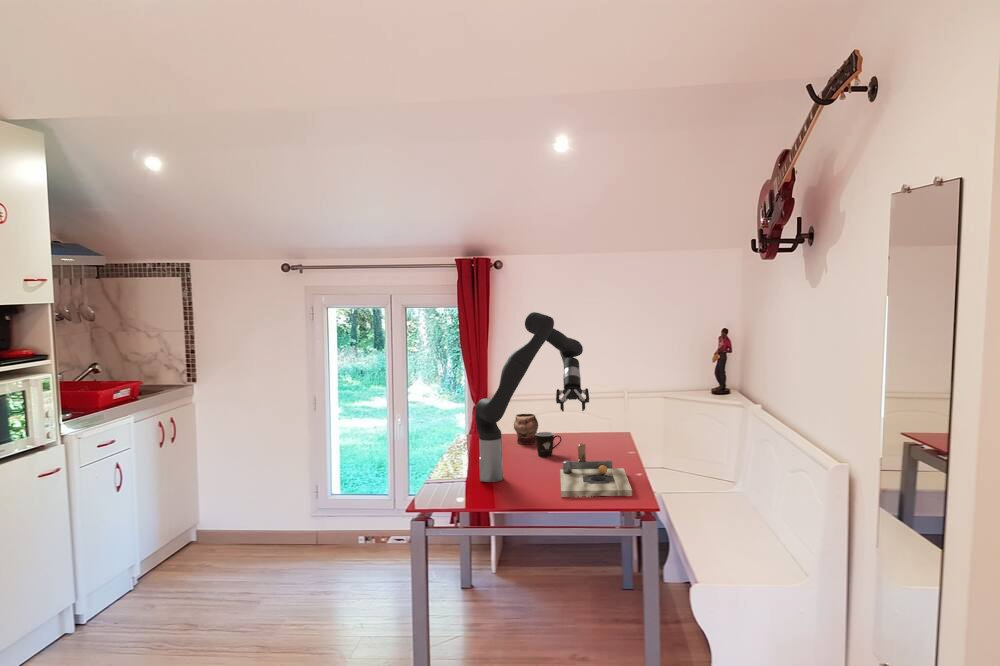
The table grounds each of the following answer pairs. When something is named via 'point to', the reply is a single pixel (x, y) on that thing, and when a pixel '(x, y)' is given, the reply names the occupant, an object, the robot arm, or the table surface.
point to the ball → (602, 469)
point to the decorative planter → (526, 428)
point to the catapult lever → (583, 462)
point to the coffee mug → (545, 443)
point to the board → (595, 483)
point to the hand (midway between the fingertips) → (573, 410)
